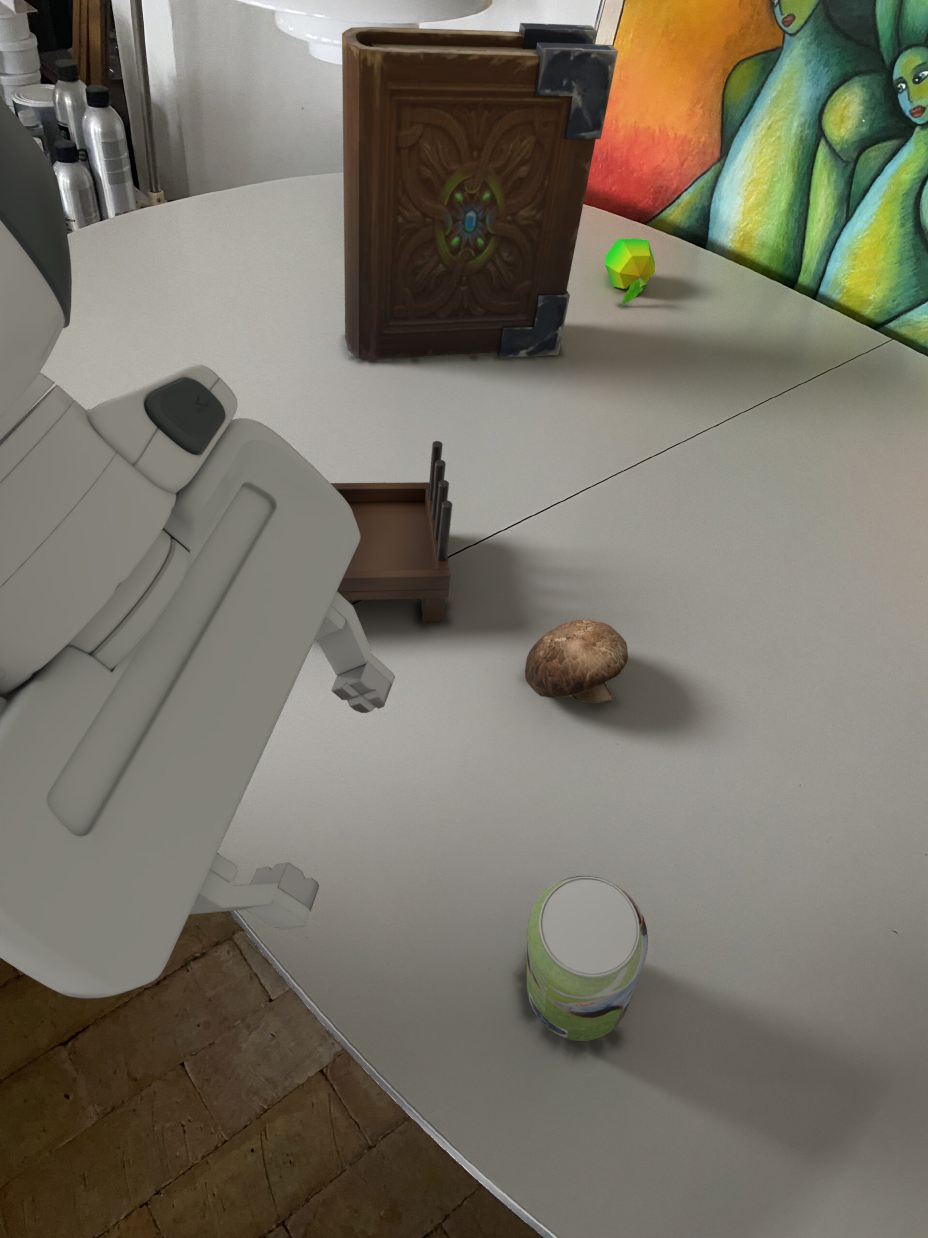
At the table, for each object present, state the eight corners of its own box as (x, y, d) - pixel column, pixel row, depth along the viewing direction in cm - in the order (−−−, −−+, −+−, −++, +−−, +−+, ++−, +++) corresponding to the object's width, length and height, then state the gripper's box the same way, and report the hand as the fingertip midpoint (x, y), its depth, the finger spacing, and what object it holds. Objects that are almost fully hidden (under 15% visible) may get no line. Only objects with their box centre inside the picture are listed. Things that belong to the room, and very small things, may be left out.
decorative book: (540, 321, 103) (591, 24, 80) (558, 355, 98) (618, 50, 76) (341, 330, 98) (337, 15, 75) (351, 366, 93) (350, 42, 71)
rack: (241, 629, 68) (225, 525, 60) (247, 532, 75) (234, 427, 67) (445, 623, 70) (456, 522, 62) (432, 529, 77) (441, 428, 69)
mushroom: (657, 704, 63) (629, 630, 60) (554, 747, 63) (523, 675, 61) (626, 660, 70) (601, 593, 68) (535, 698, 70) (506, 633, 68)
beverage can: (644, 1008, 52) (704, 928, 43) (548, 1082, 49) (590, 1014, 40) (578, 920, 55) (621, 829, 46) (483, 985, 52) (509, 900, 43)
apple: (626, 214, 107) (655, 248, 101) (653, 246, 111) (682, 280, 106) (583, 258, 110) (608, 293, 104) (610, 288, 114) (637, 323, 109)
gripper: (-168, 842, 18) (303, 1085, 25) (227, 338, 32) (465, 583, 38) (-247, 879, 22) (179, 1082, 29) (135, 415, 35) (366, 626, 42)
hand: (344, 793), depth 33 cm, fingers open, 8 cm apart
